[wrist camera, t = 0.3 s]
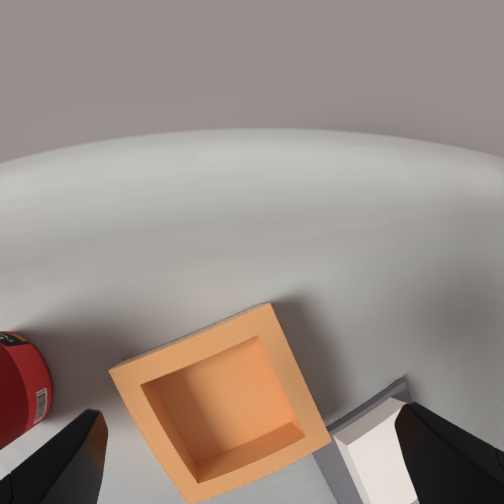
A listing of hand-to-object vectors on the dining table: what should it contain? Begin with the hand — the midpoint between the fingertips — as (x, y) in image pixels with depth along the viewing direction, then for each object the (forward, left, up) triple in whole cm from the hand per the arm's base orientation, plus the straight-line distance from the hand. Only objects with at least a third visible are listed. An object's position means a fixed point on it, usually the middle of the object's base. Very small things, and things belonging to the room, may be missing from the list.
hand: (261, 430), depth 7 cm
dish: (-3, +1, -15) cm, 15 cm away
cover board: (-16, -8, -14) cm, 23 cm away
